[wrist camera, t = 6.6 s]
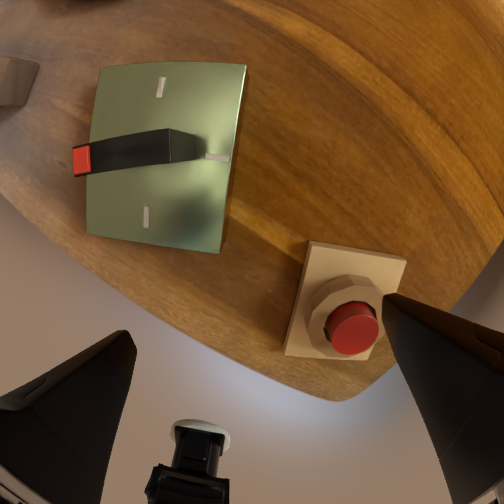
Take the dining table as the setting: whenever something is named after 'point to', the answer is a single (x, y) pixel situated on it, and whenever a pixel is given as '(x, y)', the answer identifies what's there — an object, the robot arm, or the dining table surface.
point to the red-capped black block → (133, 151)
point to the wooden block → (16, 80)
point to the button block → (338, 295)
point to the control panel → (173, 174)
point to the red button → (352, 328)
